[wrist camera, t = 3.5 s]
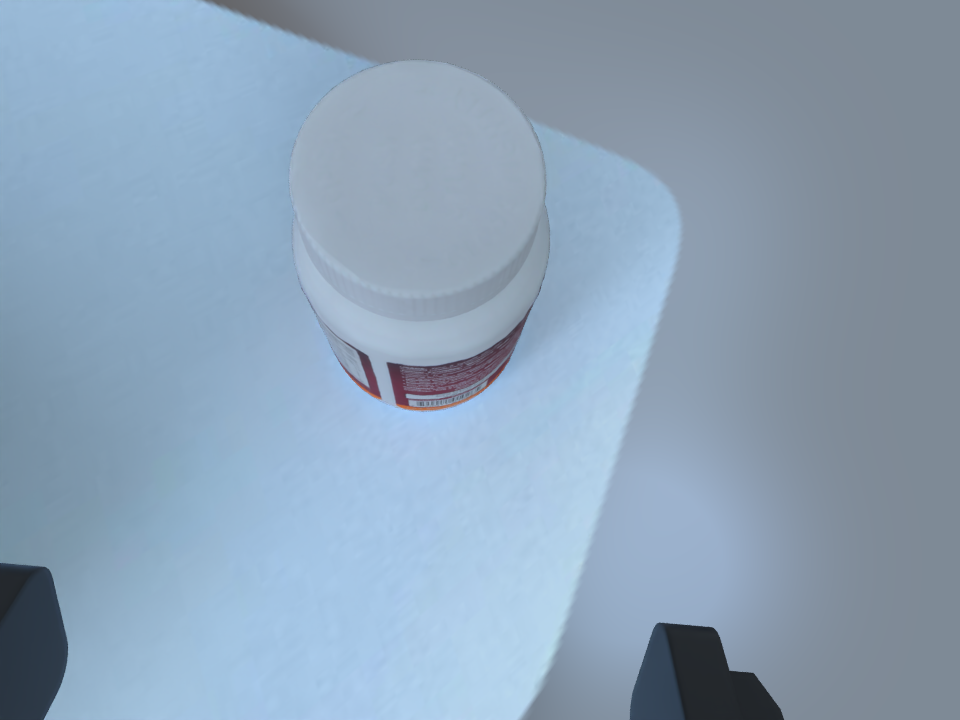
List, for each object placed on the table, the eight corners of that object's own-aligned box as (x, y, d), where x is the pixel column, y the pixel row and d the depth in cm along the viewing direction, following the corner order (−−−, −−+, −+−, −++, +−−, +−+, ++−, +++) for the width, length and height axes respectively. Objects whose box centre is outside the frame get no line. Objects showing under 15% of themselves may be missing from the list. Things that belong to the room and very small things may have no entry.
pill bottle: (544, 279, 28) (622, 104, 17) (471, 446, 27) (503, 374, 16) (378, 207, 28) (347, -13, 17) (296, 368, 27) (205, 242, 16)
